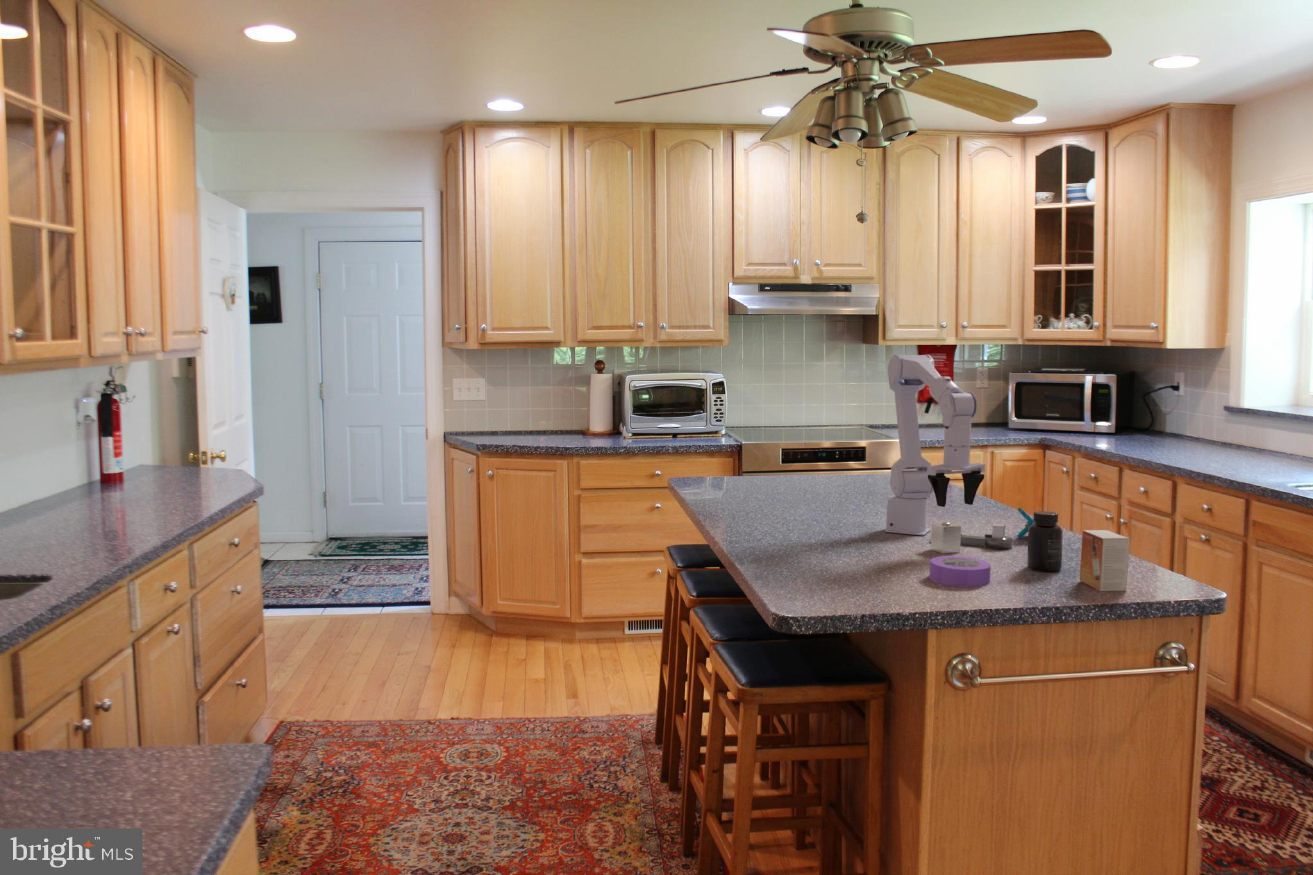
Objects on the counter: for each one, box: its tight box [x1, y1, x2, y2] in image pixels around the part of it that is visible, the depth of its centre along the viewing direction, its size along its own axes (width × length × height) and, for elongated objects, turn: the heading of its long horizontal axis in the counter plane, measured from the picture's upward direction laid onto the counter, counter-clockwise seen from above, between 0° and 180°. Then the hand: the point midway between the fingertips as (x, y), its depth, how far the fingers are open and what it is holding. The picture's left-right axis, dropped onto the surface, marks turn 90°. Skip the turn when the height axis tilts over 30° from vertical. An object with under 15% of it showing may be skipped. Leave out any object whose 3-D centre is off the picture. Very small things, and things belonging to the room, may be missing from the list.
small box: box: [1079, 529, 1131, 592], centre depth 198 cm, size 8×6×10 cm
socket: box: [930, 521, 962, 554], centre depth 230 cm, size 5×5×6 cm
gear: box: [1016, 507, 1035, 540], centre depth 244 cm, size 11×6×10 cm
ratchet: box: [960, 523, 1013, 551], centre depth 236 cm, size 18×6×5 cm, turn 63°
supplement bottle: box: [1026, 510, 1064, 573], centre depth 212 cm, size 7×7×12 cm
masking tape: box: [929, 555, 992, 588], centre depth 203 cm, size 12×12×4 cm
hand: (955, 505), depth 230 cm, fingers open, 7 cm apart
